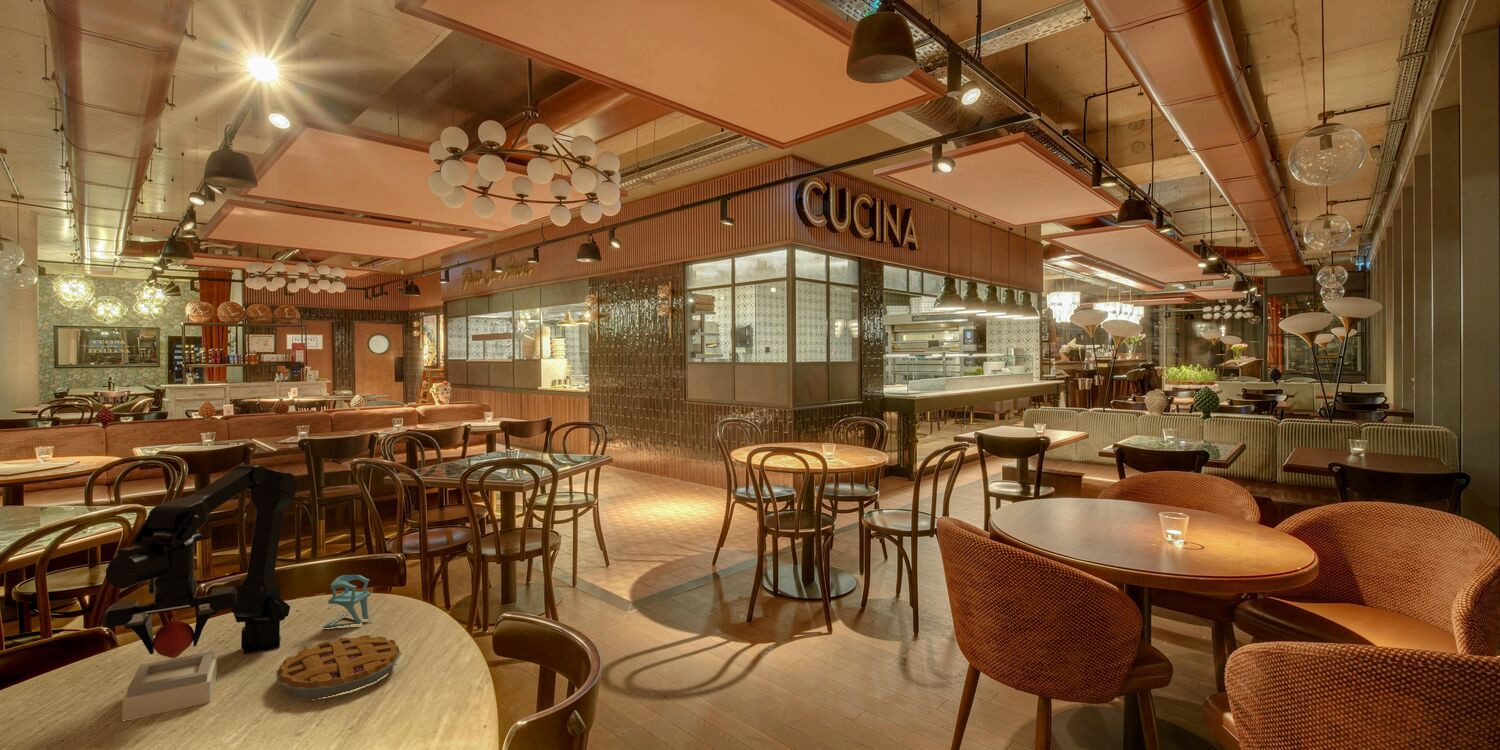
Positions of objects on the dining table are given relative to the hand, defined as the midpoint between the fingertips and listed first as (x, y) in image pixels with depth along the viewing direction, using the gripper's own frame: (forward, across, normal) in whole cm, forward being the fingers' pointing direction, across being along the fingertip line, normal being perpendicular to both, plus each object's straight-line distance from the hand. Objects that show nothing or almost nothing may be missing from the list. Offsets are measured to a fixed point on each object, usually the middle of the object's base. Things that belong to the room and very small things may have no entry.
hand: (174, 649), depth 122 cm
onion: (+2, 0, 0) cm, 2 cm away
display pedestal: (+9, 0, 0) cm, 9 cm away
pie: (+10, -27, +7) cm, 30 cm away
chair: (+10, -30, -22) cm, 38 cm away
